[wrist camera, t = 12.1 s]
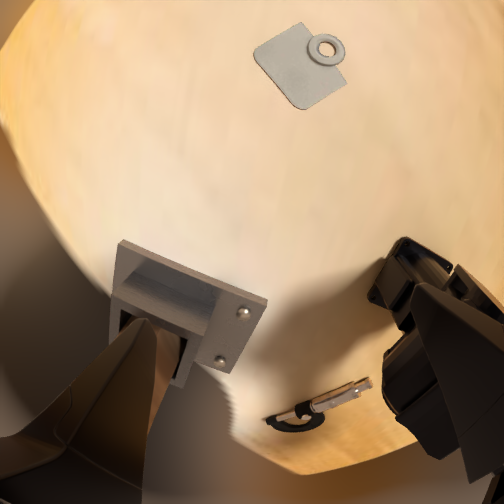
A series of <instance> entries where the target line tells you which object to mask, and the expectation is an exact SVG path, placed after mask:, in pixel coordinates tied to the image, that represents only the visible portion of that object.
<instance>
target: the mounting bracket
mask: <svg viewBox="0 0 504 504" xmlns="http://www.w3.org/2000/svg"><path fill="white" fill-rule="evenodd" d="M321 42H329V43H332V44H333V45H334V46H335V48H336V54H335V55H334V56H332V57H329V56H324V55H322V54H321V53H320V52H319V46H320V44H319V43H321ZM254 57H255V60H256V61H257V63H258V64H259V65H260V66H261V67H262V68H263V69H264V70H265V72H266V73H267V74H268V75H269V76H270V77H271V79H272V80H273V81H274V82H275V83H276V84H277V86H278V87H279V88H280V89H281V91H282V92H283V93H284V94H285V95H286V97H287V98H288V99H289V100H290V102H291V103H292V104H293V105H294V106H296V107H297V108H299V109H308V108H309V107H311V106H312V105H314V104H315V103H317V102H319V101H320V100H322V99H323V98H325V97H327V96H328V95H330V94H331V93H333V92H335V91H336V90H338V89H340V88H341V87H343V86H345V85H346V84H348V83H347V82H346V80H345V79H344V77H343V76H342V74H341V73H340V71H339V70H338V68H337V67H336V66H335V65H338V64H339V63H340V62H342V61H343V59H344V57H345V48H344V46H343V44H342V42H341V41H340V40H339V39H337V38H336V37H334V36H332V35H329V34H319V35H316V36H313V35H312V34H311V33H310V31H309V30H308V29H307V28H306V26H305V25H304V24H303V23H302V22H300V23H298V24H296V25H295V26H293V27H291V28H289V29H287V30H286V31H284V32H282V33H280V34H279V35H277V36H275V37H274V38H272V39H270V40H269V41H267V42H266V43H264V44H262V45H261V46H259V47H258V48H256V49H255V51H254Z"/></svg>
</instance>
